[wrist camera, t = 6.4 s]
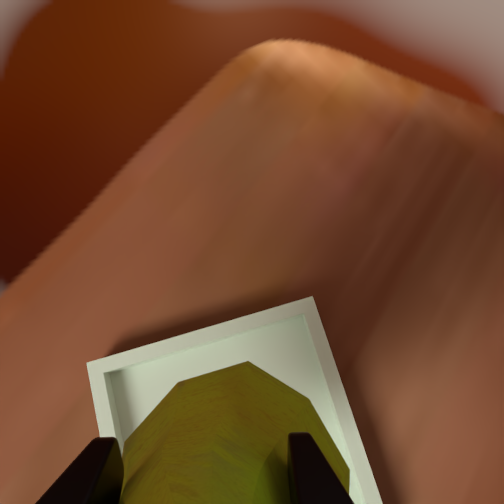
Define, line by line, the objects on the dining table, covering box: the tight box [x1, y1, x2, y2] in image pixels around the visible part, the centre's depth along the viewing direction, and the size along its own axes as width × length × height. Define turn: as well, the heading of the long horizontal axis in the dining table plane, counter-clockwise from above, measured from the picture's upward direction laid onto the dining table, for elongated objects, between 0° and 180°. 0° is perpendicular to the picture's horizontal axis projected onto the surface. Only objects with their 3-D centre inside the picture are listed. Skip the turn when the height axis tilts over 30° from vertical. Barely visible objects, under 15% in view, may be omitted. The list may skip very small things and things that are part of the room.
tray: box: [87, 296, 383, 504], centre depth 19 cm, size 10×10×2 cm
